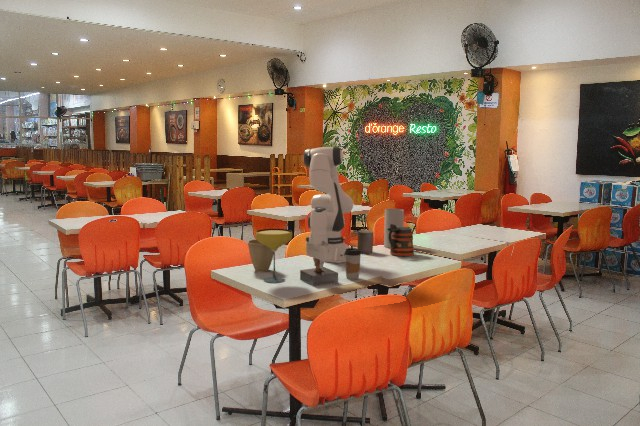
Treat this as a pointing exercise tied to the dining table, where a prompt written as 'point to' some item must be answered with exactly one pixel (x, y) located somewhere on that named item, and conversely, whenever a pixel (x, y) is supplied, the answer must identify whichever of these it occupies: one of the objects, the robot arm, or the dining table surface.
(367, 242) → the pillar candle
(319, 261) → the walnut pin
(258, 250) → the plant pot
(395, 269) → the dining table surface
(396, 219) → the cylinder vase
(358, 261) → the coffee cup
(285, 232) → the cocktail glass
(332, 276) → the nut block
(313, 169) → the robot arm
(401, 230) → the beer stein
